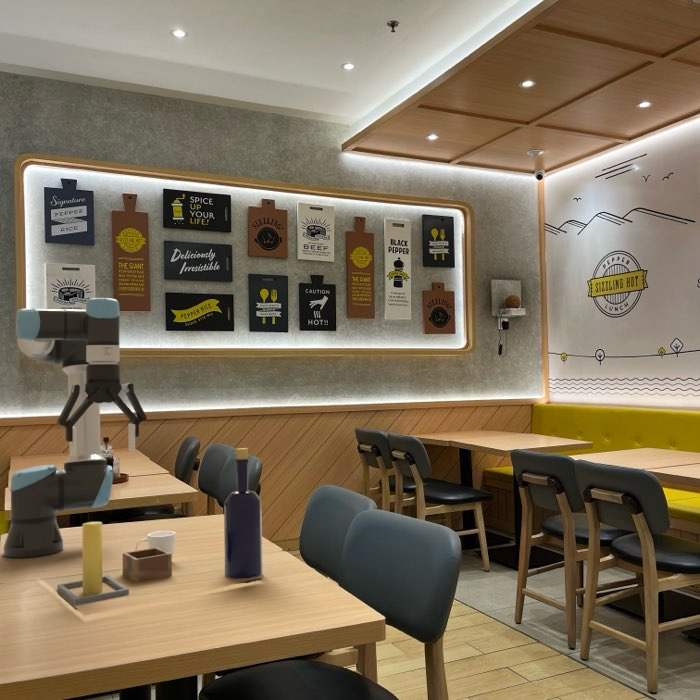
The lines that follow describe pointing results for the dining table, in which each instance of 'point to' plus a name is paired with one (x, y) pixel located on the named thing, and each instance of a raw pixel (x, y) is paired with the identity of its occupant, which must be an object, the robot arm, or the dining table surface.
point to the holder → (147, 564)
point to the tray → (64, 590)
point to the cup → (161, 540)
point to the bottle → (243, 526)
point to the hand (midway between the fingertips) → (103, 453)
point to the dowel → (92, 558)
